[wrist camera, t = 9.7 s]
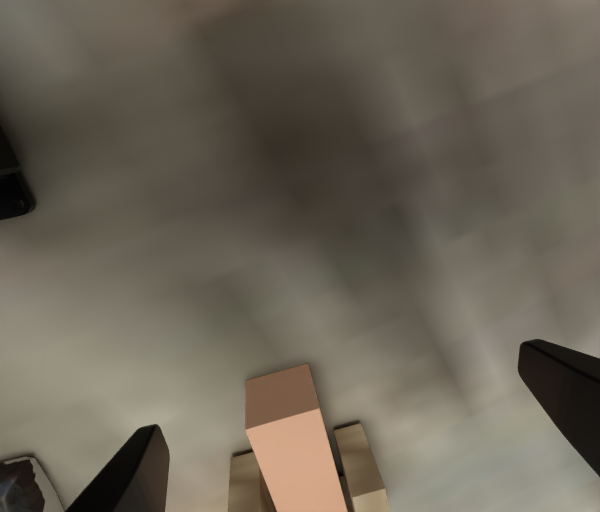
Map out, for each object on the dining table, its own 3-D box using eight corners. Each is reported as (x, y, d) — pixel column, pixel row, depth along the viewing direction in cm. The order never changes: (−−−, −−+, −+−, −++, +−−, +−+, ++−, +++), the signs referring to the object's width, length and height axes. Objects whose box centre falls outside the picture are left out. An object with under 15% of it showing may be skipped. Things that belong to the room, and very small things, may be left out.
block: (256, 524, 26) (257, 603, 21) (230, 458, 23) (226, 532, 19) (373, 491, 26) (397, 562, 22) (360, 423, 24) (385, 488, 19)
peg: (307, 361, 22) (319, 408, 18) (336, 468, 26) (351, 526, 22) (245, 378, 22) (245, 429, 18) (284, 484, 25) (290, 545, 22)
